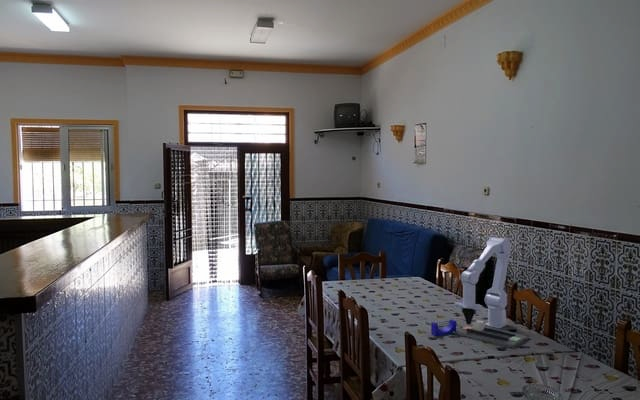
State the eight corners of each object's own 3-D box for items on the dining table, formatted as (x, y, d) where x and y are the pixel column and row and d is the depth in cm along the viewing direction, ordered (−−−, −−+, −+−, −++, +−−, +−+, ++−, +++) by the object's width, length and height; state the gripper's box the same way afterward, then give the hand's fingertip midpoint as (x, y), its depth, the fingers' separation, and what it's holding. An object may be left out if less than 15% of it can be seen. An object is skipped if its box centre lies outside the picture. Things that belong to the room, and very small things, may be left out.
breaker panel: (471, 326, 248) (471, 321, 248) (527, 339, 229) (527, 333, 229) (454, 334, 237) (454, 328, 237) (512, 348, 217) (512, 342, 217)
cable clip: (450, 330, 243) (450, 318, 242) (456, 333, 238) (456, 321, 238) (429, 333, 238) (429, 321, 238) (434, 336, 234) (434, 323, 234)
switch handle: (477, 328, 240) (478, 320, 240) (483, 329, 238) (483, 321, 237) (473, 331, 236) (473, 322, 236) (478, 332, 234) (479, 324, 234)
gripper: (451, 295, 242) (451, 322, 242) (479, 300, 232) (478, 329, 232) (458, 292, 247) (458, 319, 247) (486, 297, 237) (485, 325, 237)
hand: (468, 323), depth 240 cm, fingers closed
